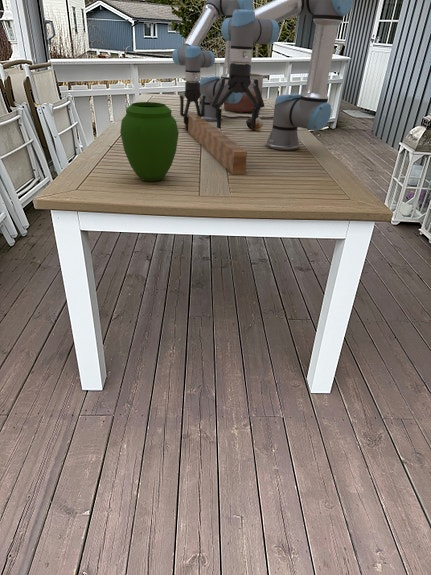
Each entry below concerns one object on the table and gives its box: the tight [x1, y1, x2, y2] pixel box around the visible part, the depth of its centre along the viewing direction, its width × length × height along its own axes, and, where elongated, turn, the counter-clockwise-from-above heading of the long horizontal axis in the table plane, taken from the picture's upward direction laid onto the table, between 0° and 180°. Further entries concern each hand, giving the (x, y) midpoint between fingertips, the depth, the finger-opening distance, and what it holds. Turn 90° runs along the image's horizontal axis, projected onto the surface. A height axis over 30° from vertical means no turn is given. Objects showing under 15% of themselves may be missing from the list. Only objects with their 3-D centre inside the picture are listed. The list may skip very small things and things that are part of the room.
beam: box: [184, 111, 248, 175], centre depth 187 cm, size 84×5×8 cm, turn 16°
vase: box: [119, 101, 179, 182], centre depth 140 cm, size 20×20×24 cm
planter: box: [223, 72, 264, 114], centre depth 276 cm, size 25×25×22 cm
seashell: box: [245, 116, 264, 131], centre depth 224 cm, size 10×6×8 cm, turn 97°
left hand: (192, 130), depth 218 cm, fingers closed on beam, 5 cm apart
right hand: (236, 127), depth 153 cm, fingers open, 13 cm apart
